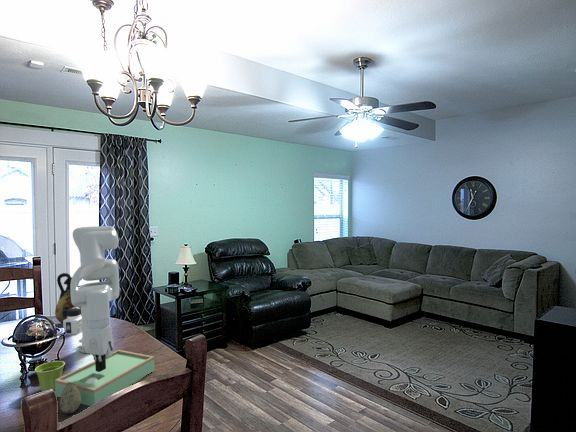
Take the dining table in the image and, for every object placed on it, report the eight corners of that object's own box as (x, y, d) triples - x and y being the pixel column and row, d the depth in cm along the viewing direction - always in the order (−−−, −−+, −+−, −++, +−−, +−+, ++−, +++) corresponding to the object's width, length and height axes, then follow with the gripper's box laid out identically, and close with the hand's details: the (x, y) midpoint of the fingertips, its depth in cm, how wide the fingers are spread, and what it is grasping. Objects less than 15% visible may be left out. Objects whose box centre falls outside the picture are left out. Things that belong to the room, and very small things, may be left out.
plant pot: (45, 383, 139) (44, 361, 139) (70, 381, 140) (69, 360, 140) (30, 396, 130) (28, 372, 130) (57, 394, 131) (56, 371, 130)
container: (77, 334, 191) (76, 310, 190) (63, 334, 191) (62, 310, 191) (85, 329, 199) (84, 306, 198) (72, 329, 199) (71, 306, 198)
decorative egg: (72, 418, 116) (70, 388, 115) (55, 417, 117) (54, 387, 116) (85, 408, 121) (84, 379, 121) (70, 406, 123) (68, 378, 122)
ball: (81, 378, 131) (94, 375, 135) (80, 393, 130) (93, 389, 134) (90, 380, 129) (103, 376, 133) (89, 395, 128) (102, 391, 132)
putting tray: (55, 396, 129) (54, 379, 129) (119, 363, 155) (118, 349, 155) (94, 407, 122) (94, 390, 121) (154, 370, 148) (154, 356, 147)
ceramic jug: (89, 318, 218) (86, 269, 217) (83, 326, 204) (81, 274, 202) (56, 321, 213) (54, 271, 211) (48, 330, 198) (46, 276, 197)
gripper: (75, 323, 134) (77, 371, 135) (104, 328, 128) (106, 378, 129) (93, 317, 141) (95, 363, 142) (121, 321, 135) (123, 368, 136)
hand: (100, 370), depth 135 cm, fingers closed
